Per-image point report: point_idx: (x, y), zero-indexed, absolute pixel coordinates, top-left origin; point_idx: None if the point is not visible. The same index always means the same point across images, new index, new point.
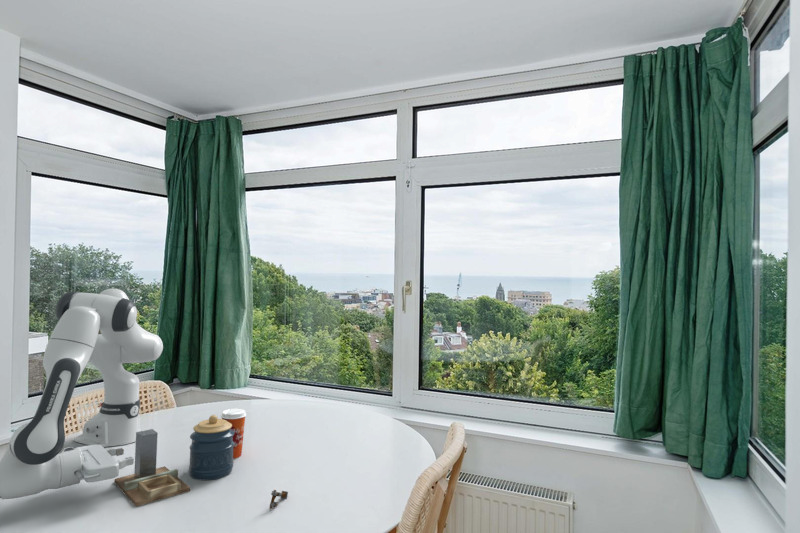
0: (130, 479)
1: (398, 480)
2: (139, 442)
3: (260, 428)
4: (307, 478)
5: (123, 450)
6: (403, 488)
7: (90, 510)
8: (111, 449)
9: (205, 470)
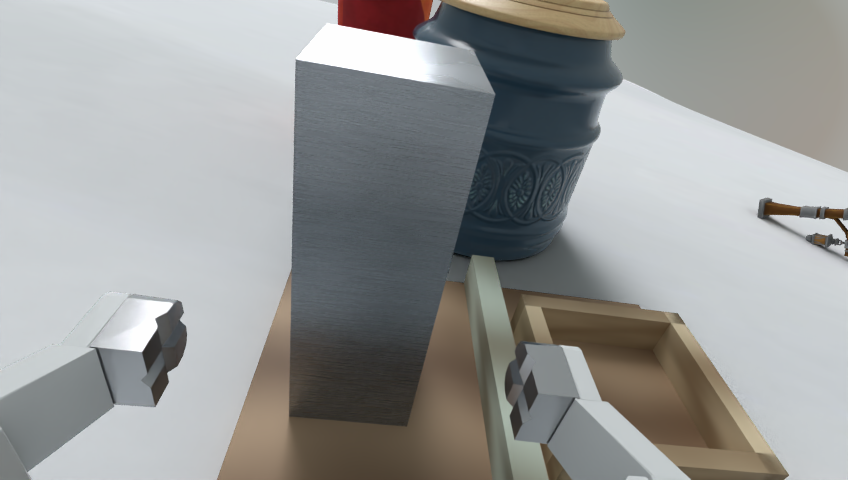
0: (327, 458)
1: (708, 121)
2: (427, 171)
3: (225, 48)
4: (647, 154)
5: (181, 311)
6: (746, 133)
7: None
8: (20, 393)
9: (560, 214)
